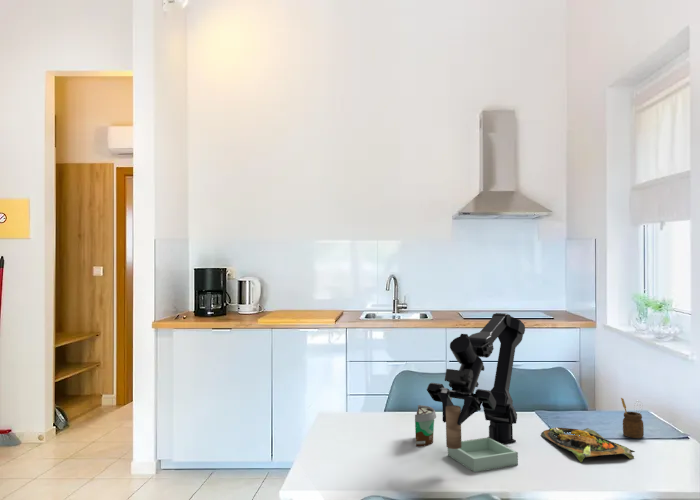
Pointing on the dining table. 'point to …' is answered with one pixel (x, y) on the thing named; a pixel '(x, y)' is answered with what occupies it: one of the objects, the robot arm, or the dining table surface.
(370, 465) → the dining table surface
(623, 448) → the prepared meal
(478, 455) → the box
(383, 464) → the dining table surface
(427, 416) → the food container
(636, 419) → the utensil holder
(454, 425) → the walnut handle
